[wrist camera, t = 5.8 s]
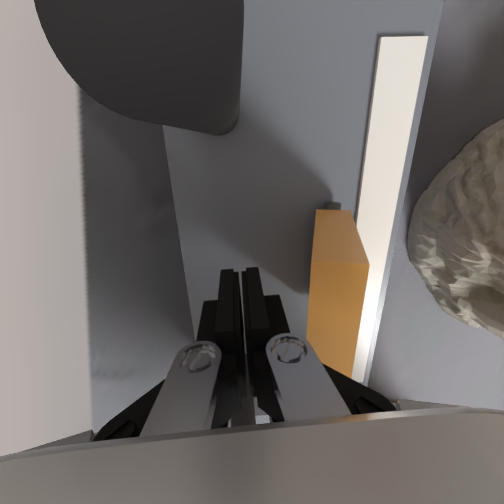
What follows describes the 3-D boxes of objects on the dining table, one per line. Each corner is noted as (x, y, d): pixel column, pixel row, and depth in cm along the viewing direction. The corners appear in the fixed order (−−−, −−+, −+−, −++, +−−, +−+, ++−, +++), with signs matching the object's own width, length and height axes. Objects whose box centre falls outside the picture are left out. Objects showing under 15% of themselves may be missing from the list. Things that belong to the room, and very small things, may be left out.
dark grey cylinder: (250, 350, 17) (267, 586, 8) (251, 372, 18) (268, 610, 9) (220, 352, 17) (203, 592, 8) (222, 374, 18) (209, 616, 9)
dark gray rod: (238, 84, 11) (238, -149, 2) (240, 134, 12) (247, 119, 3) (191, 85, 11) (-9, -149, 2) (197, 136, 12) (67, 124, 3)
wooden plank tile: (349, 201, 13) (370, 258, 7) (337, 306, 16) (345, 413, 10) (316, 201, 14) (311, 254, 8) (310, 303, 16) (302, 404, 10)
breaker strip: (381, 6, 15) (460, -65, 10) (337, 353, 25) (364, 409, 20) (169, 9, 14) (131, -64, 9) (212, 362, 25) (206, 422, 20)
